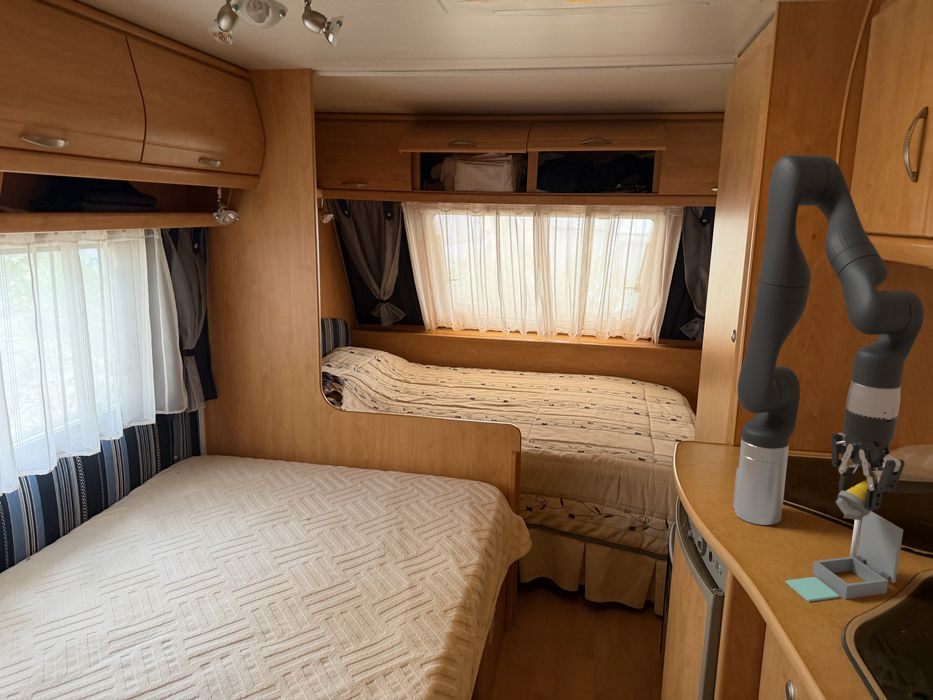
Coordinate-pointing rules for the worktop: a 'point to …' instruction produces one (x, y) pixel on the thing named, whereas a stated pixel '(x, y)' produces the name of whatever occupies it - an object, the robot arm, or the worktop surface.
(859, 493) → the drill bit
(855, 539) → the case
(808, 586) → the mat
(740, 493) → the robot arm
